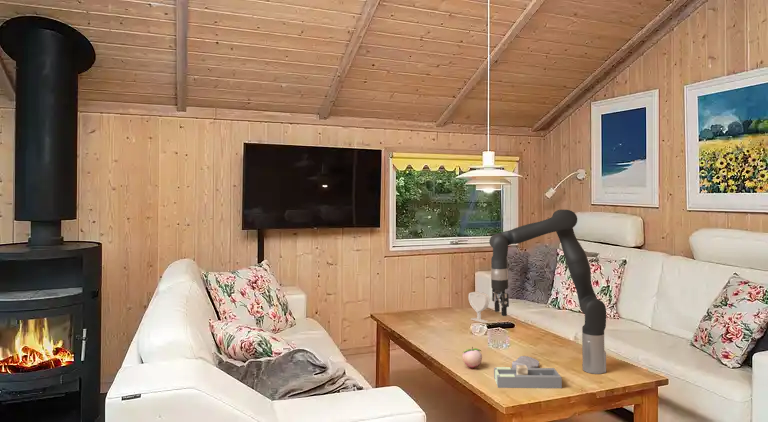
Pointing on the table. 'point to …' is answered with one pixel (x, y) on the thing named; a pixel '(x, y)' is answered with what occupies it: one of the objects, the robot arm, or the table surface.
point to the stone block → (526, 362)
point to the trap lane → (527, 378)
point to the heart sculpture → (478, 304)
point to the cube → (521, 370)
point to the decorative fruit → (472, 357)
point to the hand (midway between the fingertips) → (500, 313)
